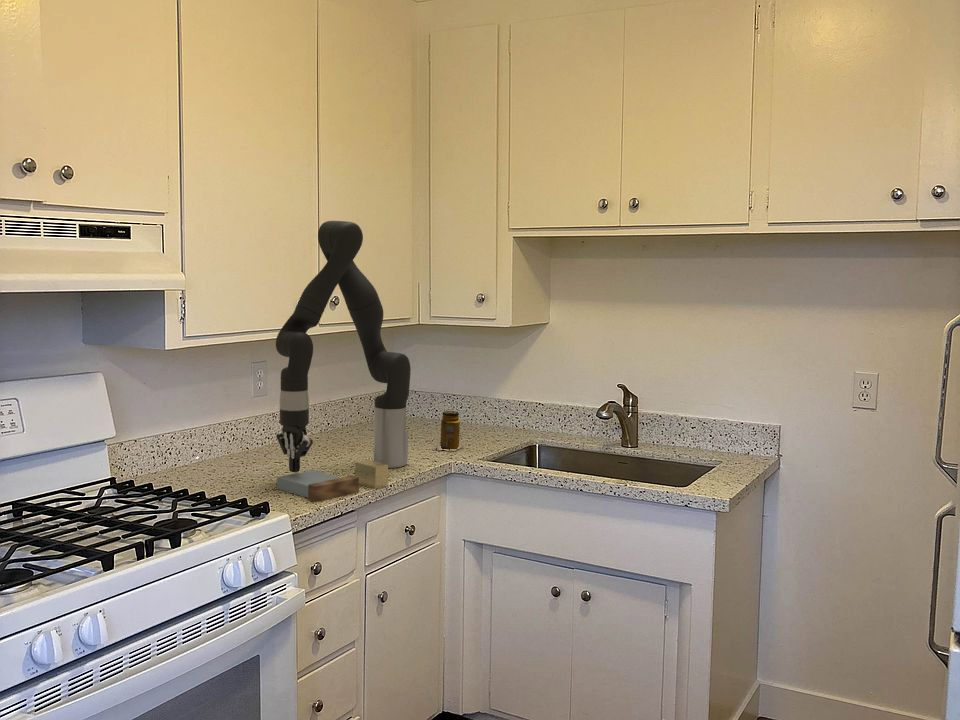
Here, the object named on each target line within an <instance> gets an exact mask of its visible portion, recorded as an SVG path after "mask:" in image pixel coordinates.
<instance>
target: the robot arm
mask: <svg viewBox="0 0 960 720" xmlns="http://www.w3.org/2000/svg"><path fill="white" fill-rule="evenodd" d="M318 228H319V229H318V232H317V240H318V244H319V248H320V249H321V252H322V253H323V256H324V258H325V260H326V263H325V265H324V266H323V267H322V268H321V270H320V271H319V272H318V273H317V274H316V275H315V277H313V278H312V279H311V280H310V282H308V284H307V285H306V287H305V288H304V290H303V291H302V292H301V295H300V297H299V299H298V302H297V304H296V307H295V309H294V311H293V313H292V314H291V315H290V316H289V318H288V319H287V320H286V321H285V323H284V324H283V326H282V327H281V329H280V330H279V331H278V334H277V336H276V339H275V349H276V352H277V353H278V354H279V355H281V356H282V357H286V358H288V363H287V367H284V368H282V369H281V372H280V392H279V426H282V428H281V432H280V433H277V434H276V436H275V437H276V439H277V442H278V445H279V446H280V449H281V451H282V453H283V455H287V458H288V468H289V469H288V470H289V472H291V473H299V471H300V470H301V458H302V457H305V456H307V454H308V452H309V450H310V449H311V446H312V445H313V443H314V440H313V439H309V437H308V436H307V434H308V432H307V428H306V427H307V426H308V425H309V423H310V399H309V398H310V397H309V377H308V375H309V371H310V368H311V364H312V361H313V360H312V358H313V356H314V355H313V354H314V344H313V340H312V338H311V336H310V335H309V334H308V333H307V332H308V331H309V330H311V329H312V328H315V327H317V326H318V324H319V322H320V321H321V319H322V316H323V314H324V312H325V309H326V307H327V305H328V303H329V300H330V298H331V296H332V295H333V292H334V291H335V289H336V287H337V286H339V289H340V293H341V294H342V297H343V299H344V302H345V305H346V307H347V310H348V313H349V315H350V317H351V320H352V321H353V324H354V326H355V330H356V332H357V335H358V338H359V341H360V344H361V346H362V349H363V353H364V357H365V361H366V364H367V365H366V366H367V369H368V372H369V374H370V376H371V377H372V379H374V381H376V382H377V383H381V384H386V390H385V392H384V393H382V394H380V395H377V396H376V397H375V398H374V411H373V412H374V415H373V417H374V419H373V420H374V422H373V425H374V427H373V461H375V462H380V463H384V464H388V469H394V468H396V469H397V468H400V467H404V466H405V465H408V458H409V457H408V452H409V451H408V449H409V432H408V431H406V430H407V428H406V427H407V402H408V399H409V395H410V386H411V385H410V382H411V370H412V369H411V362H410V359H409V357H408V356H407V355H406V354H404V353H401V352H393V351H392V352H391V351H388V350H387V348H386V347H385V345H384V342H383V339H382V337H381V336H382V335H381V329H382V324H383V321H384V308H383V305H382V302H381V300H380V297H379V294H378V292H377V290H376V288H375V287H374V285H373V284H372V283H371V281H370V280H369V279H368V278H367V276H366V275H364V273H363V272H362V271H361V270H360V269H359V268H358V266H357V265H356V263H355V261H354V259H355V258H356V257H357V255H358V253H359V251H360V249H361V248H362V245H363V241H364V234H363V231H362V228H361V227H360V226H359V225H358V224H357V223H355V222H353V221H344V220H327V221H324V222H323V223H322V224H321V225H320V227H318Z"/></svg>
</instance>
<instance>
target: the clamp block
mask: <svg viewBox="0 0 960 720" xmlns="http://www.w3.org/2000/svg"><path fill="white" fill-rule="evenodd" d="M354 466H355V467H354V476H355V477H359V486H360V485H361V486H365V487H368V488H372V489H378V488H383V487H387V486H388V485H389V484H388V483H389V468H388V464H384V463H380V462H375V461H374V460H370V459H364V460H363V459H362V460H359V461H355V462H354Z"/></svg>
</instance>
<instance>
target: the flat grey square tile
mask: <svg viewBox="0 0 960 720" xmlns="http://www.w3.org/2000/svg"><path fill="white" fill-rule="evenodd" d="M337 478H342V477H341V476H338V475H333V474H330V473H327V472H323V471H320V470H316V469H312V470H306V471H301V472H295V473H291V474H287V475H280V476H276V489H277V490H280V491H284V492H287V493H291V494H295V495H298V496H301V497H303V498H307V499H308V485H309V484H313V483H318V482H323V481H328V480H333V479H337Z"/></svg>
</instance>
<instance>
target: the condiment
mask: <svg viewBox="0 0 960 720" xmlns="http://www.w3.org/2000/svg"><path fill="white" fill-rule="evenodd" d="M459 415H460V413H459V412H458V411H455V410H445V411H443V412H442V419H441V420H440V441H439V442H440V446H441V448H442V449H449V450H450V449H457V448H458V447H460V428H461V426H460V424H461V423H460V422H461V421H460V420H459V419H460V417H459ZM440 446H437V447H435V448H433V449H432V450H434V451H437V450H436V449H437V448H438V447H440Z"/></svg>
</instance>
